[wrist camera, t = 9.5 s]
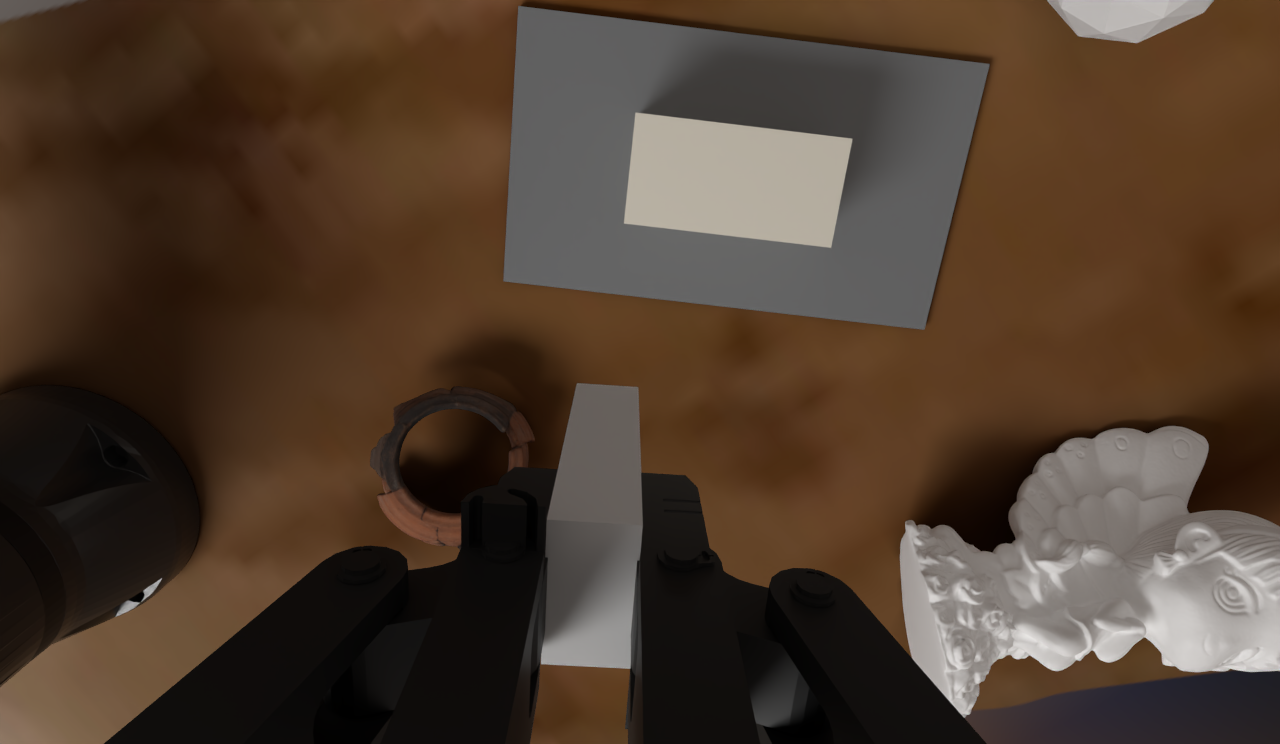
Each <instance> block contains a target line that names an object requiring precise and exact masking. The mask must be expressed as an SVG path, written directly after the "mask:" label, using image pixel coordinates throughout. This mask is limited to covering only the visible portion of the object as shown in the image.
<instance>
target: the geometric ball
mask: <svg viewBox="0 0 1280 744" xmlns="http://www.w3.org/2000/svg"><path fill="white" fill-rule="evenodd" d="M1047 1H1048V2H1049V4H1050V5H1051V6H1052V7H1053V8H1054V9H1055V10H1056V12H1057V13H1058V14H1059V15H1060V16H1061V17H1062V18H1063V20H1064V21H1065V22H1066V23H1067V24H1068V25H1069V26H1070V28H1071V29H1072V30H1073V31H1074V32H1075V33H1076V34H1077V36H1080V37H1088V38H1097V39H1106V40H1115V41H1123V42H1132V43H1138V42H1141V41H1143V40H1145V39H1147V38H1149V37H1152V36H1154V35H1156V34H1158V33H1160V32H1162V31H1165V30H1167V29H1169V28H1171V27H1173V26H1176V25H1178V24H1180V23H1182V22H1184V21H1187V20H1189V19H1191V18H1193V17H1195V16H1197V15H1200V14H1202V13H1204V12H1205V11H1206V9H1207V8H1208V7H1209V6H1210V4H1211V3H1212V2H1213V1H1214V0H1047Z"/></svg>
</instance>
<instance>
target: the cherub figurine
mask: <svg viewBox="0 0 1280 744" xmlns="http://www.w3.org/2000/svg"><path fill="white" fill-rule="evenodd" d="M1208 449H1209V445H1208V442H1207V440H1206V439H1205V437H1203V436H1202V435H1200V434H1198V433H1196V432H1194V431H1192V430H1190V429H1187V428H1184V427H1179V426H1167V427H1161V428H1159V429H1157V430H1154V431H1152V432H1150V433H1144V432H1142V431H1139V430H1136V429H1131V428H1115V429H1110V430H1107V431H1104V432H1102V433H1100V434H1098V435H1097V436H1096V437H1095V438H1093V439H1089V438H1072V439H1069V440H1067V441H1065V442H1064V443H1062V444H1061V445H1060V446H1059V447H1058V448H1057V450H1056V451H1055V452H1054V453H1048V454H1045V455H1043V456H1042V457H1041V458H1040V459H1039V460H1038V461H1037V463H1036V465H1035V466H1034V468H1033V472H1032V474H1031V475H1029V476H1028V477H1027V478H1026V479H1025V480H1024V481H1023V483H1022V484H1021V486H1020V488H1019V490H1018V493H1017V502H1015V503H1014V504H1013V505H1012V507H1011V508H1010V511H1009V514H1008V520H1009V524H1010V527H1011V529H1012V531H1013V533H1014V535H1015V541H1013V542H1012V543H1011V544H1008V543H1004V544H1000V545H998V546H997V547H996V548H995V549H994V551H993V552H988V551H980V550H979V549H977V548H975V547H974V545H970V544H968V543H966V542H964V541H963V539H962V538H961V537H960V536H959V535H958V534H957V533H956V531H955V530H954V529H952V528H951V527H949V526H947V525H938V526H936V527H934V528H933V529H931V528H930V527H929V526H927V525H918V526H916V524H915V522H914V521H913V520H908V521H906V522H905V529H906V532H905V534H904V536H903V537H902V540H901V545H900V568H901V585H902V600H903V610H904V618H905V625H906V631H907V637H908V642H909V647H910V651H911V655H912V659H913V660H914V661H915V662H916V664H917V665H918V666H919V667H920V668H921V669H922V670H923V672H924V673H925V674H926V675H927V676H928V677H929V678H930V680H931V681H932V682H933V683H934V684H935V685H936V686H937V688H938V689H939V690H940V691H941V692H942V693H943V694H944V696H945V697H946V698H947V699H948V700H949V701H950V702H951V704H952V705H953V706H954V707H955V708H956V709H957V710H958V712H959V713H960V714H961V715H962V716H963V717H964V718H965V717H966V715H969V714H970V713H971V709H972V707H973V706H974V704H975V702H976V700H977V698H976V697H978V695H979V683H980V682H981V681H984V680H985V676H986V674H989V670H990V666H991V665H992V664H993V663H994V662H995V661H997V659H1002V658H1004V657H1005V656H1006V655H1011V656H1012V657H1013V658H1015V659H1021V658H1026V657H1028V656H1030V655H1031V656H1032V657H1033V658H1035V659H1036V660H1038V661H1039V662H1040V663H1041V664H1043V665H1044V666H1045V667H1047V668H1049V669H1051V670H1054V671H1060V670H1063V669H1065V668H1067V667H1069V666H1070V665H1072V664H1073V663H1074V662H1075V661H1076V660H1079V661H1081V660H1082V658H1083V657H1084V656H1085V655H1087V654H1088V653H1089V652H1090V651H1091V650H1093V651H1095V653H1096V655H1097V657H1098V658H1099V659H1100V660H1101V661H1104V662H1113V661H1116V660H1118V659H1120V658H1122V657H1123V656H1124V655H1125V654H1126V653H1127V652H1128V651H1129V650H1130V649H1131V648H1132V646H1133V645H1134V644H1135V643H1137V642H1138V641H1140V640H1141V639H1142V638H1143V637H1146V638H1147V639H1148V640H1149V641H1150V642H1152V643H1153V644H1154V645H1155V646H1156V647H1157V648H1158V650H1159V651H1160V652H1161V653H1162V663H1163V664H1164V665H1167V666H1176V667H1177V668H1178V669H1180V670H1182V671H1190V672H1204V671H1209V670H1212V671H1227V670H1229V669H1234V670H1239V671H1247V672H1259V671H1280V527H1279V526H1277V525H1276V524H1274V523H1272V522H1270V521H1268V520H1265V519H1263V518H1260V517H1258V516H1255V515H1251V514H1248V513H1244V512H1239V511H1231V510H1210V511H1201V512H1195V513H1189V512H1188V510H1187V504H1188V501H1189V498H1190V495H1191V493H1192V490H1193V488H1194V486H1195V483H1196V481H1197V479H1198V477H1199V475H1200V473H1201V471H1202V468H1203V466H1204V464H1205V461H1206V458H1207V454H1208Z"/></svg>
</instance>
